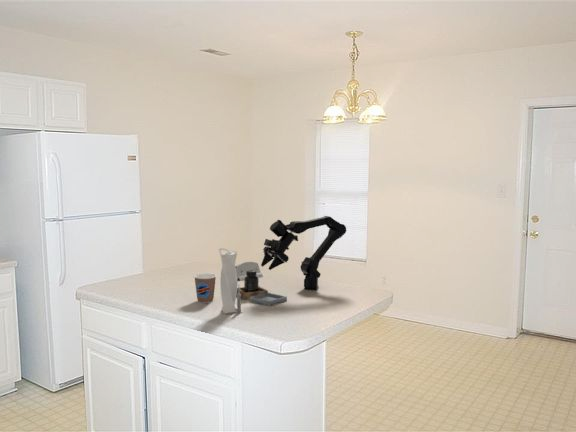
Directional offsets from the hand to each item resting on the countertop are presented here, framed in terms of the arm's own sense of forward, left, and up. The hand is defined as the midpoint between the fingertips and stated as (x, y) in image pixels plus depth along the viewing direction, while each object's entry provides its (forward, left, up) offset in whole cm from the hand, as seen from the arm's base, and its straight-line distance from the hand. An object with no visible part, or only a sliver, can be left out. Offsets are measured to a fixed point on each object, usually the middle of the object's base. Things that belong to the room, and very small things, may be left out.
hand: (265, 267), depth 249 cm
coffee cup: (+23, +21, -13) cm, 33 cm away
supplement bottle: (+6, +5, -13) cm, 15 cm away
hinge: (+21, -32, -13) cm, 40 cm away
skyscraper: (+6, +34, -13) cm, 37 cm away
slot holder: (+6, +5, -13) cm, 15 cm away
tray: (-5, +13, -13) cm, 19 cm away
